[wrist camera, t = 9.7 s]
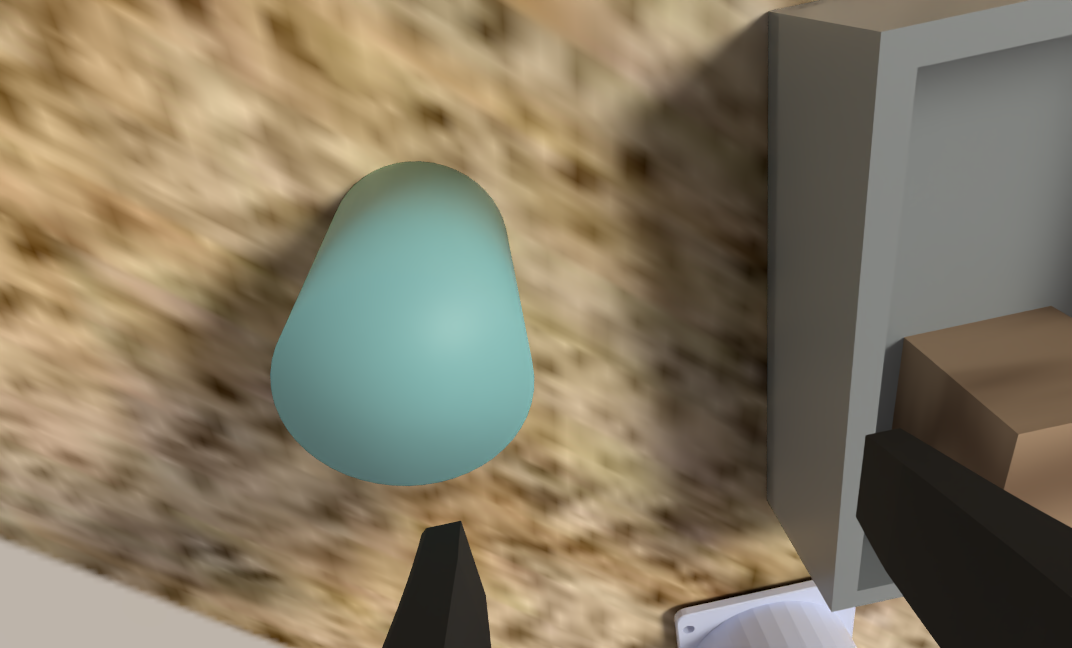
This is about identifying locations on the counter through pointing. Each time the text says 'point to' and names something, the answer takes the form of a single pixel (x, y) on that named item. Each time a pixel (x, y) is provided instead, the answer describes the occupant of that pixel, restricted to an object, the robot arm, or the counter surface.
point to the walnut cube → (997, 402)
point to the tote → (898, 226)
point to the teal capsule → (407, 333)
